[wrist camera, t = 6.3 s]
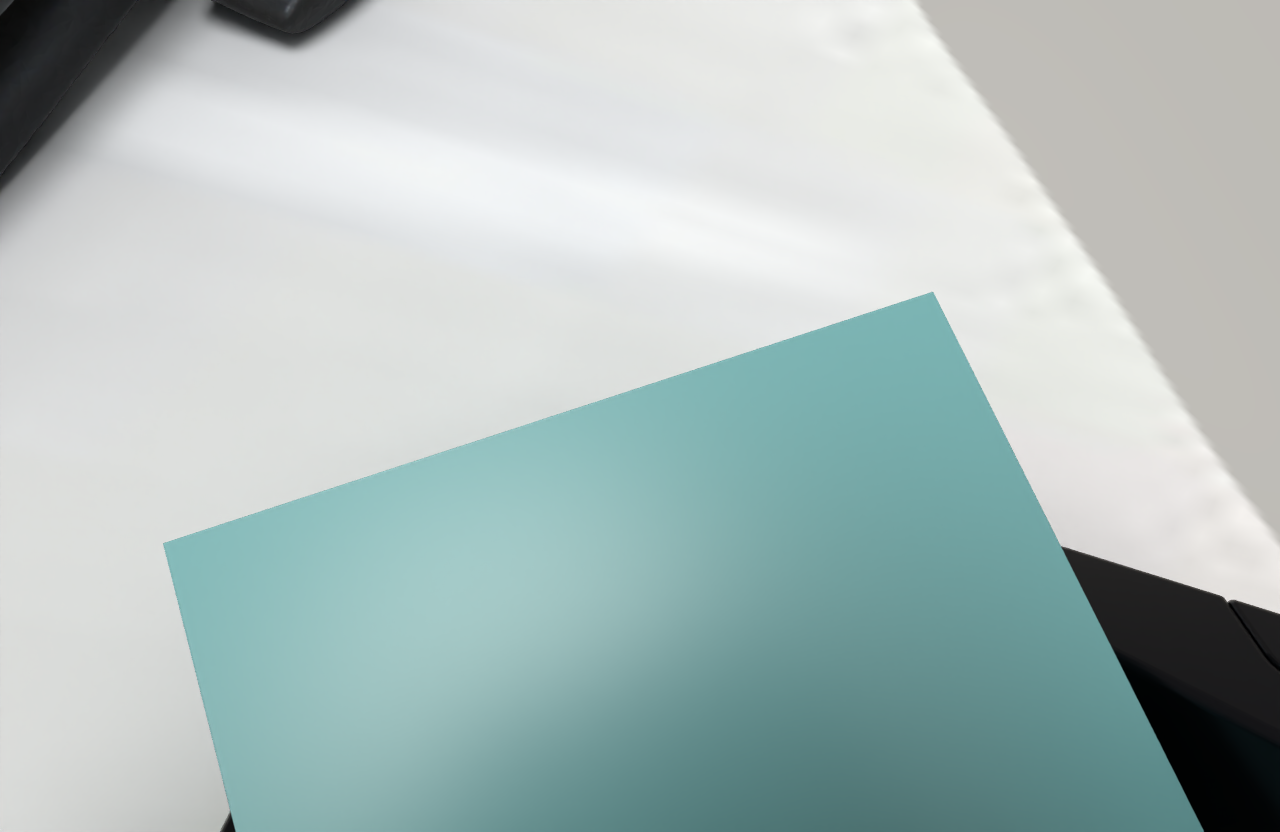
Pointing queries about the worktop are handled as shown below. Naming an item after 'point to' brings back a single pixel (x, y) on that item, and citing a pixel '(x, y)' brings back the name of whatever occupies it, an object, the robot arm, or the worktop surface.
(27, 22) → the can opener
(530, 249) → the worktop surface
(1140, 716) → the teal rectangular block
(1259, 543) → the worktop surface
